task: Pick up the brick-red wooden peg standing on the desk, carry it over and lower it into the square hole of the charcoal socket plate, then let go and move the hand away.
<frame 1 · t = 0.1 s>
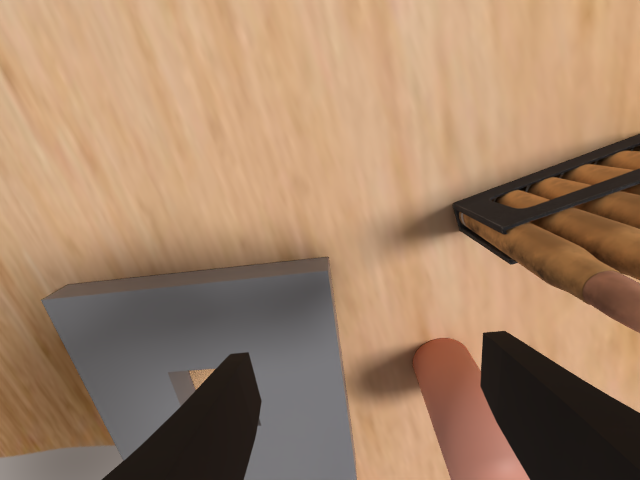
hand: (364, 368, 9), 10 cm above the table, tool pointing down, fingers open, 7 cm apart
ammunition clip: (547, 183, 17), on the table
peg: (441, 361, 21), on the table
socket plate: (225, 377, 23), on the table
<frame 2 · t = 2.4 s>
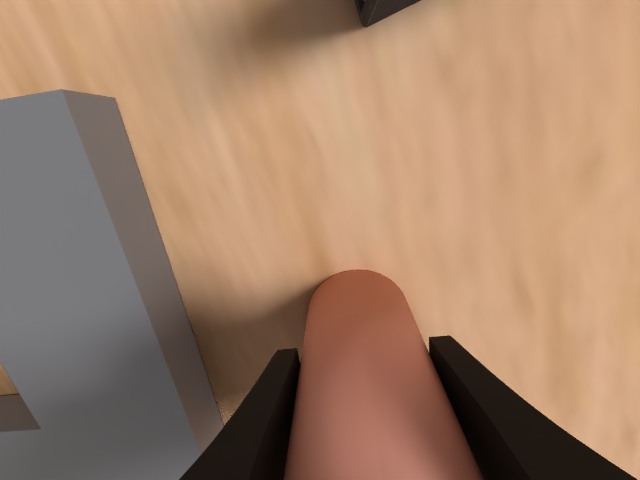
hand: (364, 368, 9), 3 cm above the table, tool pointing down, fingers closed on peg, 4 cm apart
peg: (357, 314, 12), on the table, touching gripper
socket plate: (1, 347, 13), on the table
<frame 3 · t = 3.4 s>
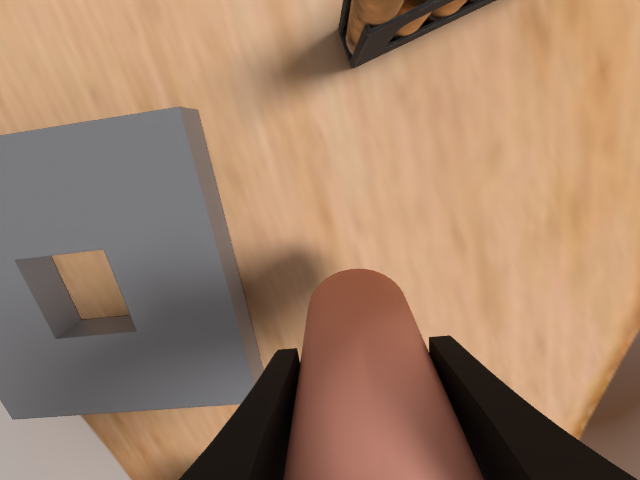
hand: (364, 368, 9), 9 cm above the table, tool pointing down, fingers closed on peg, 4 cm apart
peg: (357, 313, 12), point 6 cm above the table, touching gripper
socket plate: (102, 280, 19), on the table
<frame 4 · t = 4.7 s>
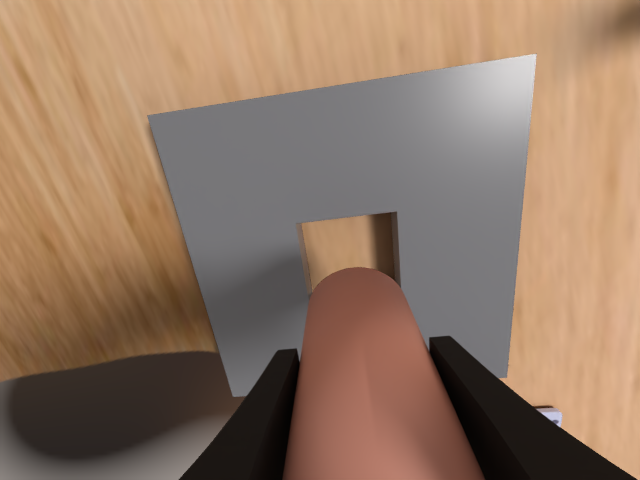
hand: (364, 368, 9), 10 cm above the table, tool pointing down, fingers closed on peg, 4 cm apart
peg: (357, 312, 12), point 7 cm above the table, touching gripper
socket plate: (349, 250, 19), on the table
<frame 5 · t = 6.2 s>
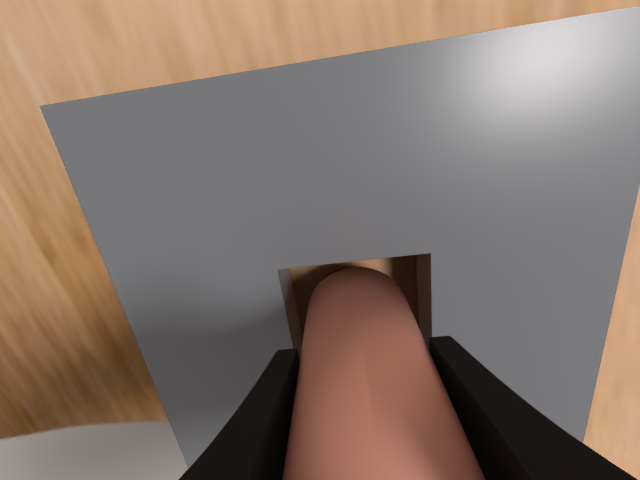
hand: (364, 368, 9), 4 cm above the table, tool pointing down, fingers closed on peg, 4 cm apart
peg: (357, 312, 12), point 1 cm above the table, touching gripper
socket plate: (355, 298, 13), on the table
when the fingers open (3 cm above the table, at t = 7.3 s): peg stays where it is, resting in socket plate.
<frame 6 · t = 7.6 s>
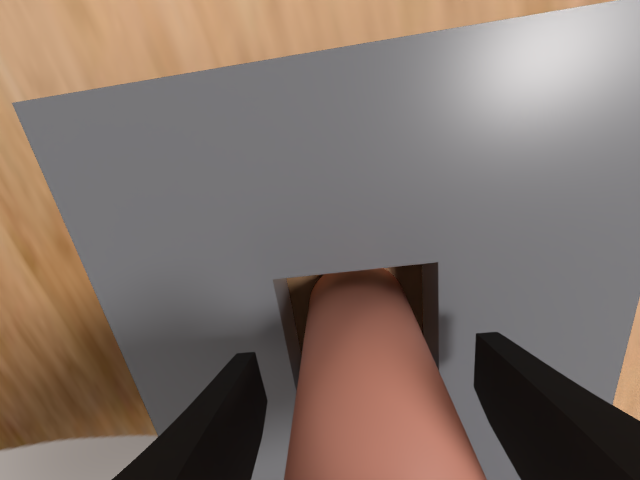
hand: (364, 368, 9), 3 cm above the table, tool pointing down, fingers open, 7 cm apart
peg: (357, 305, 12), resting in socket plate
socket plate: (356, 308, 12), on the table
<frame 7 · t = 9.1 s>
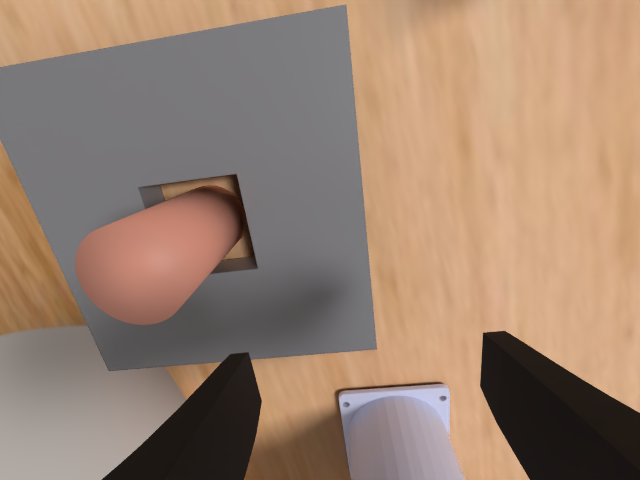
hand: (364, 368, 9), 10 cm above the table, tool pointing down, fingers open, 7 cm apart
peg: (214, 218, 18), resting in socket plate
socket plate: (214, 219, 18), on the table
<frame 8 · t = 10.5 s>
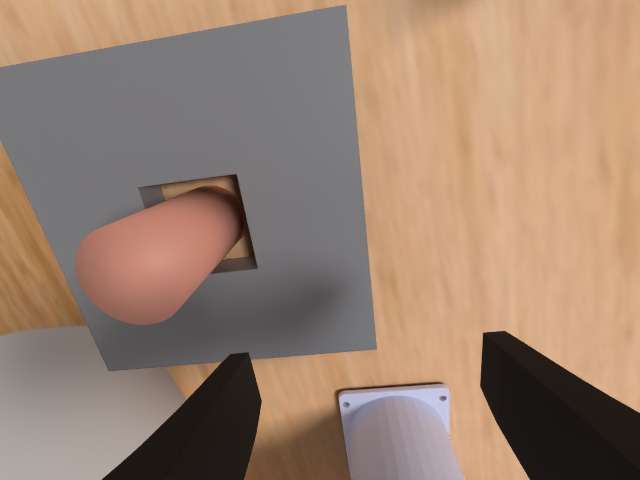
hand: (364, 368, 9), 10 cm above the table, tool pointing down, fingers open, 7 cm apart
peg: (214, 218, 18), resting in socket plate
socket plate: (214, 219, 18), on the table
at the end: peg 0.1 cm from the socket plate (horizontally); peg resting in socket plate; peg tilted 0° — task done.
